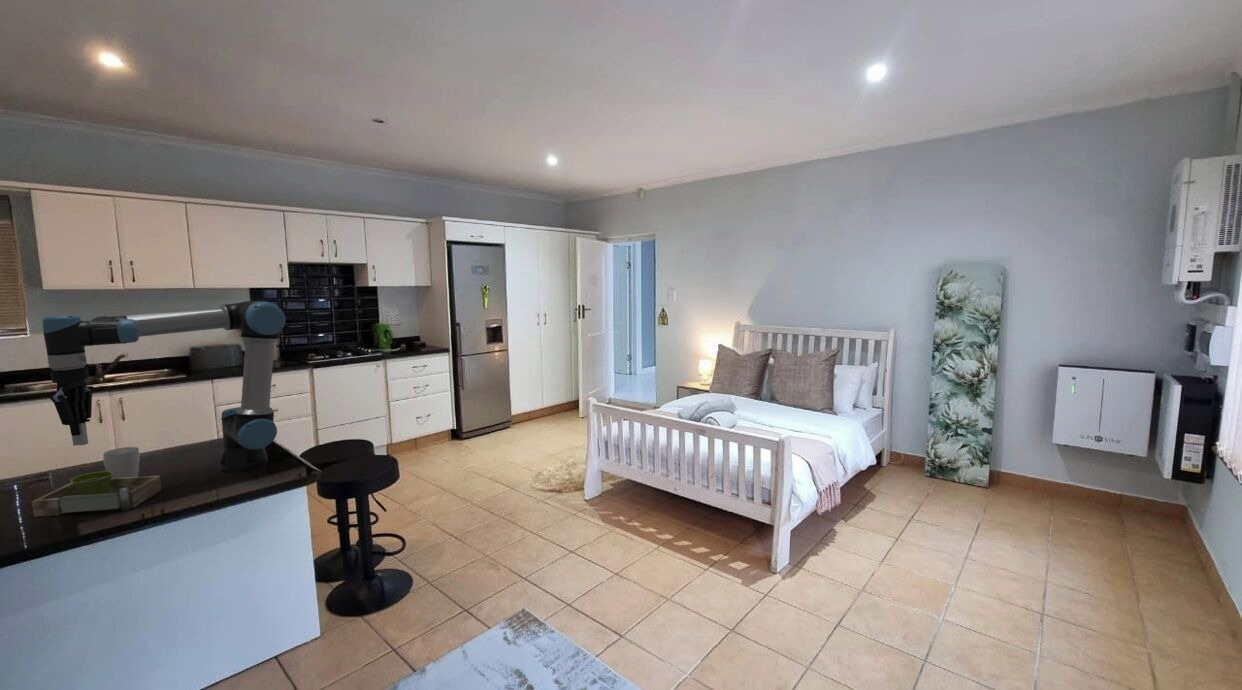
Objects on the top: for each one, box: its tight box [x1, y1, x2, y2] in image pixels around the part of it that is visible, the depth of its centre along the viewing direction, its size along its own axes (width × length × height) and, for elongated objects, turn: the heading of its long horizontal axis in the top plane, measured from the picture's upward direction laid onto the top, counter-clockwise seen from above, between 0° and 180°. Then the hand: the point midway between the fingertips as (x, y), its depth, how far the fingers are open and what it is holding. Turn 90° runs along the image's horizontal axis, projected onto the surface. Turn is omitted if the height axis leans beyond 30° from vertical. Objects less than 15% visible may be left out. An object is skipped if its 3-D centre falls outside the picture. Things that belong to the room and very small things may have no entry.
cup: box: [102, 446, 141, 478], centre depth 174 cm, size 9×9×12 cm
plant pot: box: [69, 470, 113, 495], centre depth 160 cm, size 9×9×9 cm
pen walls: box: [31, 475, 162, 518], centre depth 160 cm, size 24×16×5 cm
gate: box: [60, 493, 121, 514], centre depth 153 cm, size 14×1×5 cm, turn 105°
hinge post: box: [119, 487, 131, 512], centre depth 156 cm, size 2×2×7 cm
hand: (80, 444), depth 150 cm, fingers closed
